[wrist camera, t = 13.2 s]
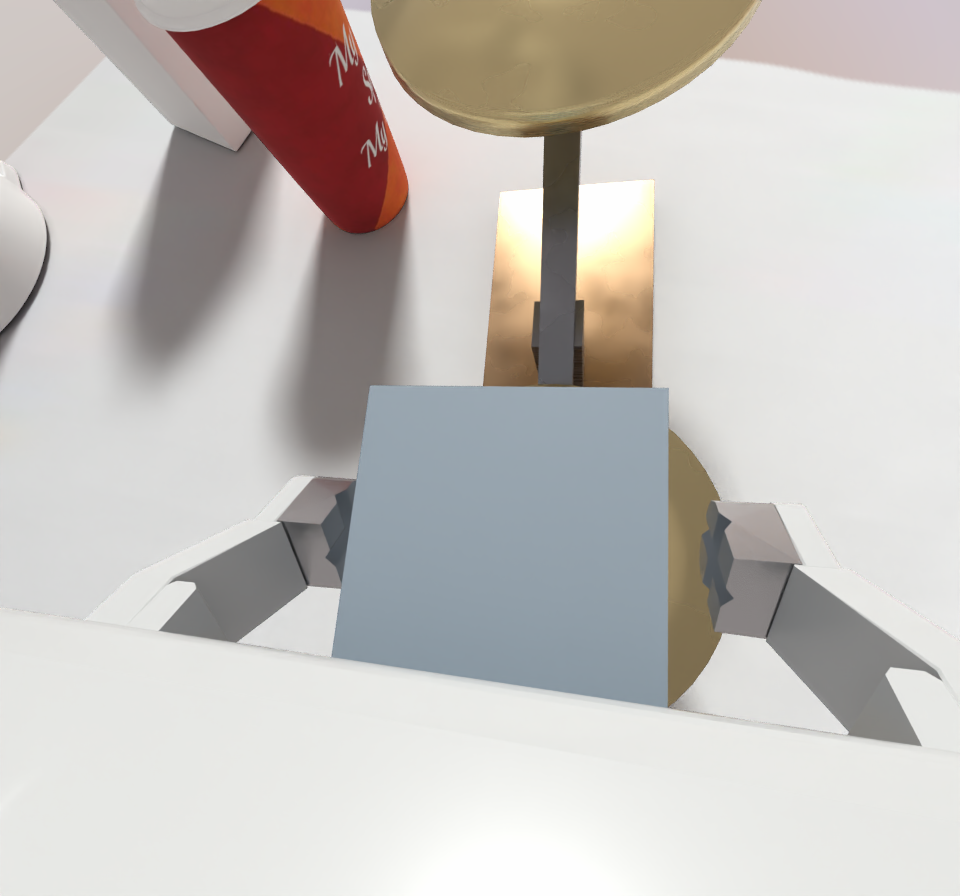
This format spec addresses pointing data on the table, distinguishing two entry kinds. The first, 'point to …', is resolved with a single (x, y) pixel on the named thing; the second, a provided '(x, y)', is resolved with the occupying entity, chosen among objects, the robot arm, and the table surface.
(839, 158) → the table surface
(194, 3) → the paper cup
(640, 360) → the balance
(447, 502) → the block
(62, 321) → the table surface
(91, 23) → the milk carton
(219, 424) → the table surface
